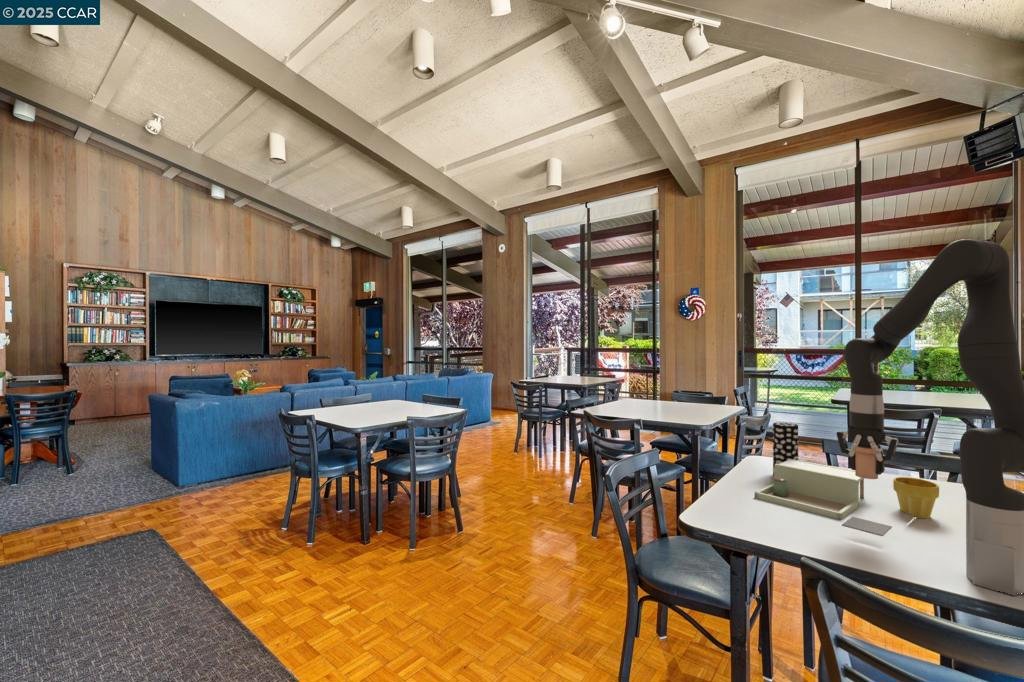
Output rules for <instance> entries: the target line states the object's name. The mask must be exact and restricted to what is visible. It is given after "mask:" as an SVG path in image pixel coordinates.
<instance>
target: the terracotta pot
mask: <svg viewBox="0 0 1024 682" xmlns="http://www.w3.org/2000/svg"><path fill="white" fill-rule="evenodd" d="M878 449H880V448H878ZM854 451H855V470H854V471H855V475H856V476H858V477H861V478H864V480H865V479H867V480H877V479H879V475H878V474H876V461H877V457H876V455H875V454H877V453H876V452H875V449H872V448H868V447H862V446H857V447H856V446H854Z"/></svg>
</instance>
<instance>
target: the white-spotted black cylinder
mask: <svg viewBox="0 0 1024 682" xmlns="http://www.w3.org/2000/svg"><path fill="white" fill-rule="evenodd" d="M788 459H793V460H798V461H799V424H796V423H791V422H781V421H780V422H772V475H774V467H775V464H780V463H783V462H785V461H788Z"/></svg>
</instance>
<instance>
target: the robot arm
mask: <svg viewBox="0 0 1024 682" xmlns="http://www.w3.org/2000/svg"><path fill="white" fill-rule="evenodd" d="M1010 268H1011V267H1010V257H1009V253H1008V252H1007V250H1006V248H1005V247H1003V245H1001V244H999V243H997V242H994V241H988V240H981V239H972V238H965V239H964V238H963V239H959V240H955V241H952V242H951V243H949V244H948V245H946V246H945V247H944V248H943V249H941V251H940V252H939V253H938V254H937V256H935V258H934V259H933V260H932V262H931V263H930V264H929V266H928V267H927V268H926V269H925V271H924V272H923V273H922V274H921V276H920V277H919V278H918V279H917V280H916V282H915V283H914V284H913V285H912V287H911V288H910V289H909V290H908V291H907V293H906V294H905V295H904V296H903V297H902V298H901V299H900V301H898V302H897V303H896V304H895V305H893V307H892V308H891V309H890V310H889V311H887V312H886V313H885V314H884V315H883V316H882V317H881V318H880V319H879V320H878V321H876V323H875V324H874V325H873V328H872V330H873V333H874V334H873V335H872V336H871V337H869V338H867V337H866V338H865V337H863V338H862V337H861V338H860V337H859V338H853V339H850V340H849V341H848V342H847V343H846V345H845V347H844V350H843V355H844V356H843V357H844V362H845V365H846V368H847V372H848V375H849V378H850V397H849V428H848V430H846V431H845V430H844V431H843V430H839V431H837V432H836V434H835V435H836V437H837V442H838V444H839V447H840V452H841V453H842V454H845V455H848V465H849V468H851V470H853V471H855V451H854V446H856V447H857V446H862V447H868V448H872V449H875V452H876V453H877V454H875V455H876V457H877V461H876V474H878V476H880V475H882V474H883V473H884V472H885V465H886V464H885V461H891V460H893V459H894V457H895V455H896V451H897V448H898V445H899V442H900V440H899V438H898V437H891V436H887V434H886V432H885V404H884V403H885V402H884V397H883V390H884V389H883V386H884V385H883V377H882V375H881V374H879V373H877V372H874V370H873V367H872V364H878V363H879V364H880V363H882V362H884V361H886V360H887V359H888V358H889V357H890V356H891V355H892V354H893V352H894V351H896V349H897V348H898V346H899V345H900V343H901V341H902V340H904V339H905V338H906V337H908V336H909V335H910V334H912V332H914V331H915V330H916V329H917V328H918V327H919V326H920V325H922V323H923V322H924V321H925V320H926V318H927V317H928V315H929V313H930V312H931V310H932V307H933V306H934V304H935V303H936V301H937V300H938V299H939V298H940V296H941V295H942V294H944V293H945V292H946V291H947V290H948V289H950V288H952V286H955V285H956V284H957V283H959V282H964V285H965V288H966V294H967V301H968V302H967V303H968V304H967V305H968V306H967V310H966V311H967V312H966V315H965V317H964V319H963V322H962V324H961V327H960V329H959V331H958V335H957V350H958V357H959V358H958V359H959V364H960V368H961V371H962V372H963V374H964V375H965V377H966V378H967V379H968V381H969V382H970V383H971V384H972V386H973V387H974V388H975V389H976V390H977V391H978V392H979V393H980V394H981V395H982V397H983V398H984V399H985V401H986V402H987V404H988V407H989V408H990V411H991V414H992V420H993V425H994V428H993V427H976V428H969V429H967V430H966V431H965V432H963V434H962V435H961V438H960V441H959V460H960V462H959V463H960V474H961V482H962V483H961V484H962V486H963V488H964V490H965V508H966V509H965V539H966V541H965V544H966V545H965V553H966V555H965V561H966V562H965V566H966V567H965V569H966V572H965V575H966V577H967V578H968V579H969V580H970V581H971V580H972V581H971V582H972V584H973V585H976V586H980V587H982V588H986V589H990V590H992V591H996V592H997V591H998V592H999V591H1000V593H1003V592H1005V593H1004V594H1006V593H1008V594H1007V595H1010V594H1012V595H1011V596H1013V595H1016V596H1017V595H1024V594H1023V593H1024V492H1022V491H1020V490H1018V489H1015V488H1011V487H1009V486H1007V484H1005V481H1004V480H1005V479H1004V473H1024V381H1023V377H1022V368H1021V360H1020V358H1021V357H1020V352H1019V345H1018V341H1017V335H1016V331H1015V324H1014V317H1013V315H1014V314H1013V310H1012V306H1011V305H1012V304H1011V297H1010V296H1011V291H1010V289H1011V287H1010V286H1011V284H1010V280H1011V279H1010V278H1011V277H1010ZM848 437H850V439H851V440H852V441H853V442H852V444H851V446H850V448H849V445H848V442H847V439H848ZM884 441H885V442H886V445H887V446H888V448H887V452H886V454H884V452H883V448H882V446H881V444H882V443H883V442H884ZM878 448H880V449H878ZM1017 593H1018V594H1017ZM1021 593H1022V594H1021Z"/></svg>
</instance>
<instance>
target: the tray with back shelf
mask: <svg viewBox="0 0 1024 682" xmlns="http://www.w3.org/2000/svg"><path fill="white" fill-rule="evenodd" d="M775 477H781V478H786V479H787V480H788V491H789V496H788V497H778V496H775V495H774V494H773V483H772V484H769V485H768V486H765V487H763V488H761V489H759V490H756V491H754V498H755V499H759V500H762V501H766V502H771V503H774V504H778V505H782V506H786V507H790V508H794V509H798V510H802V511H805V512H810V513H814V514H818V515H821V516H825V517H827V518H828V517H830V518H833V519H836V520H843V519H844V518H846V517H847V516H848V515H850V514H851V513H852V512H854V511H855V510H856V509H858V508H859V507H860V506H859V505H860V503H859V502H860V501H859V499H860V498H861V499H864V497H865V482H864V481H865V478H861V477H858V476H856V475H855V470H852V469H847V468H841V467H836V466H832V465H824V464H819V463H815V462H810V461H803V460H799V459H798V460H793V459H788V461H785V462H783V463H780V464H775V467H774V476H773V478H775ZM859 497H860V498H859Z"/></svg>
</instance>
